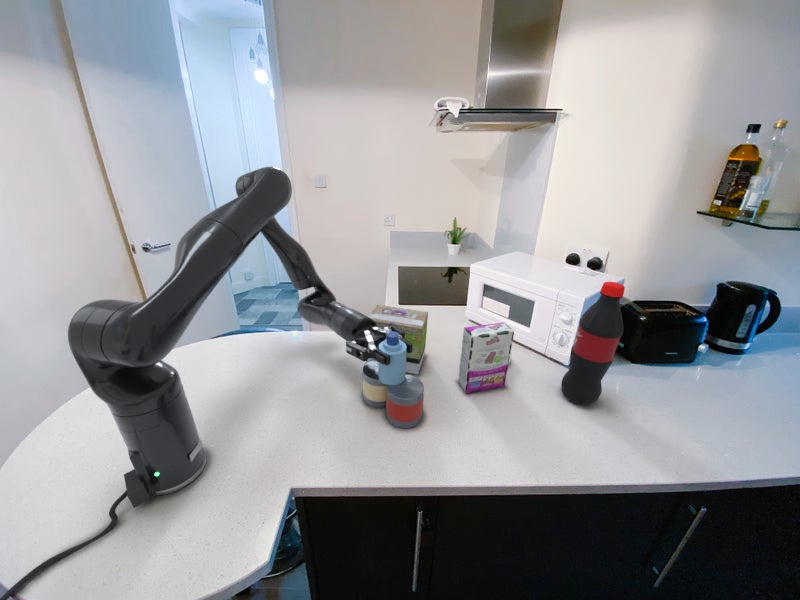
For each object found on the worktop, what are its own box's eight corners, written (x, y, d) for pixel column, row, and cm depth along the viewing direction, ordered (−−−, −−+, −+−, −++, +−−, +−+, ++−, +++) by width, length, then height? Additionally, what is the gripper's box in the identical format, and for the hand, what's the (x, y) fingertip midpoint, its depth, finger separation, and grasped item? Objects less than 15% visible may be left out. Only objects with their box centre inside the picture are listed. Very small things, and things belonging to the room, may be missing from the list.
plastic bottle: (391, 389, 67) (392, 345, 62) (373, 376, 70) (372, 333, 66) (411, 377, 70) (413, 334, 66) (392, 365, 74) (393, 324, 70)
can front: (403, 434, 66) (405, 405, 62) (378, 413, 71) (378, 385, 68) (429, 415, 71) (431, 387, 68) (404, 397, 76) (405, 369, 73)
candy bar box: (494, 375, 85) (504, 321, 78) (504, 387, 80) (516, 331, 74) (456, 381, 82) (463, 326, 75) (464, 394, 78) (473, 336, 71)
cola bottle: (592, 389, 81) (630, 279, 68) (601, 412, 73) (646, 293, 61) (556, 382, 83) (587, 274, 70) (562, 404, 75) (597, 288, 63)
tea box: (365, 366, 87) (364, 319, 81) (376, 347, 96) (376, 303, 90) (419, 375, 84) (422, 327, 78) (425, 355, 93) (428, 310, 87)
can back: (378, 413, 71) (378, 384, 68) (356, 395, 76) (355, 367, 73) (403, 396, 76) (404, 369, 73) (381, 380, 81) (381, 354, 78)
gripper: (326, 321, 71) (374, 353, 60) (375, 303, 80) (424, 328, 69) (328, 350, 74) (374, 384, 63) (375, 329, 83) (422, 356, 72)
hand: (400, 355), depth 66 cm, fingers closed on plastic bottle, 6 cm apart
